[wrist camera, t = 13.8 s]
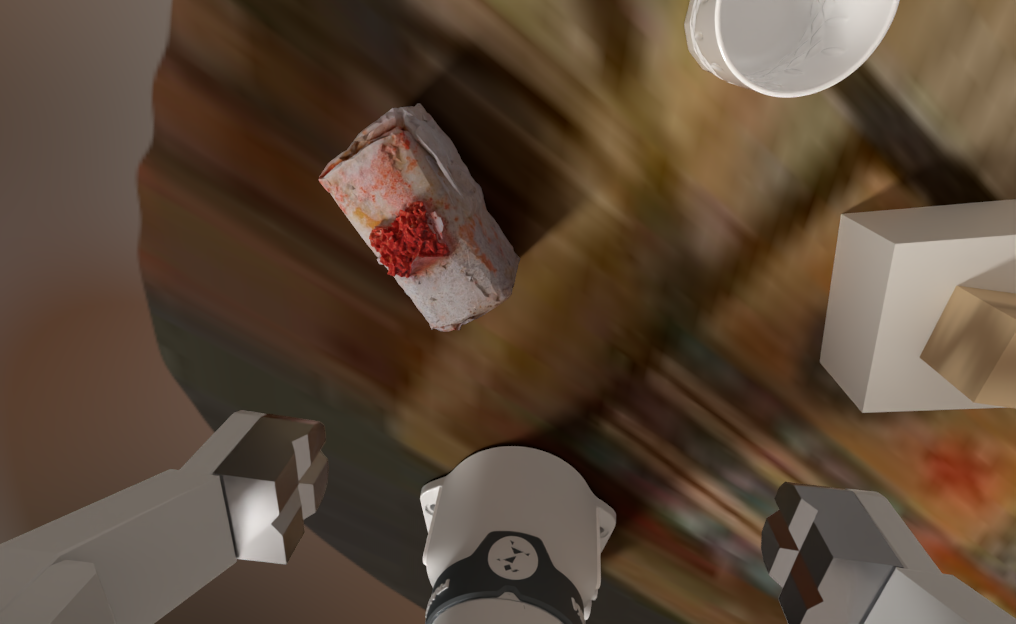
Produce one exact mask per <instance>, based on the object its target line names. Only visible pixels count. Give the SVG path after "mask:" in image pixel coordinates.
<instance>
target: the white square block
mask: <svg viewBox="0 0 1016 624" xmlns="http://www.w3.org/2000/svg"><path fill="white" fill-rule="evenodd" d="M956 286H963V287H971V288H978V289H986V290H993V291H1001V292H1008V293H1016V199H1012V200H1000V201H988V202H977V203H965V204H953V205H941V206H929V207H917V208H906V209H894V210H882V211H870V212H858V213H846V214H841V218H840V225H839V232H838V239H837V245H836V252H835V259H834V266H833V273H832V280H831V286H830V293H829V300H828V307H827V314H826V321H825V328H824V334H823V341H822V348H821V355H820V363H821V365H822V366H823V367H824V368H825V369H826V370H827V372H828V373H829V374H830V375H831V376H832V378H833V379H834V380H835V381H836V382H837V384H838V385H839V386H840V387H841V388H842V389H843V391H844V392H845V393H846V394H847V395H848V397H849V398H850V399H851V400H852V401H853V402H854V404H855V405H856V406H857V407H858V408H859V410H860V411H861V412H862V413H871V412H898V411H925V410H952V409H979V408H1007V407H1002V406H994V405H987V404H980V403H974V402H972V401H971V400H970V399H969V398H968V397H966V396H965V395H964V394H963V393H962V392H960V391H959V390H958V389H957V388H956V387H954V386H953V385H952V384H951V383H950V382H948V381H947V380H946V379H945V378H944V377H942V376H941V375H940V374H939V373H938V372H936V371H935V370H934V369H933V368H932V367H930V366H929V365H928V364H927V363H926V362H924V361H923V360H922V359H921V358H920V355H921V353H922V351H923V349H924V347H925V345H926V343H927V342H928V340H929V338H930V336H931V334H932V332H933V330H934V328H935V326H936V324H937V322H938V320H939V318H940V316H941V314H942V312H943V311H944V309H945V307H946V305H947V303H948V301H949V299H950V297H951V295H952V293H953V291H954V289H955V287H956Z"/></svg>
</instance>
